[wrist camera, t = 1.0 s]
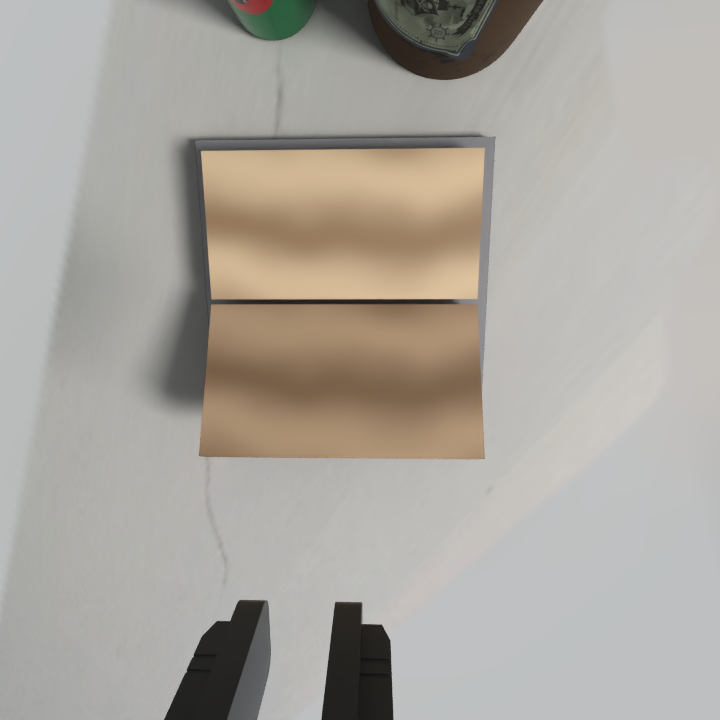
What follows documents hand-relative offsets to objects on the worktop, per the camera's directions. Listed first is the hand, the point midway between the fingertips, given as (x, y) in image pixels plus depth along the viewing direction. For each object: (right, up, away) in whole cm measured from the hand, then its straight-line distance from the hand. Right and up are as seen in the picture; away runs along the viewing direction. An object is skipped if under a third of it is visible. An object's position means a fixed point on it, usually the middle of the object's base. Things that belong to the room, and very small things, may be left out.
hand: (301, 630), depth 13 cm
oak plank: (+1, +16, +18) cm, 24 cm away
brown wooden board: (+1, +6, +17) cm, 18 cm away
